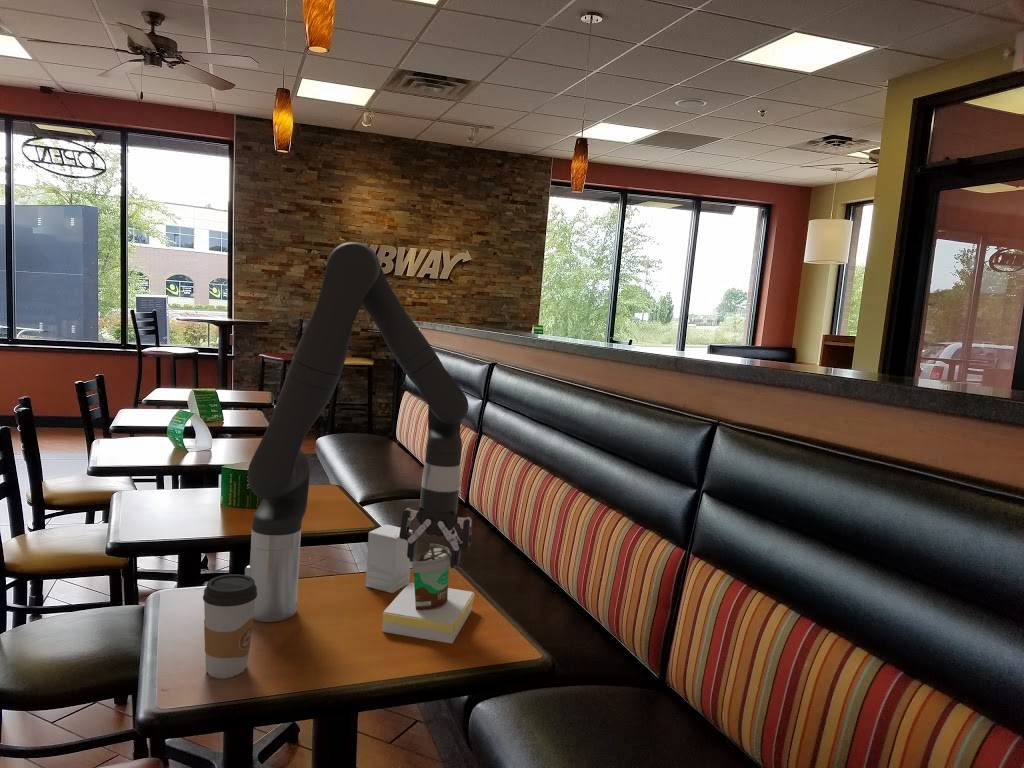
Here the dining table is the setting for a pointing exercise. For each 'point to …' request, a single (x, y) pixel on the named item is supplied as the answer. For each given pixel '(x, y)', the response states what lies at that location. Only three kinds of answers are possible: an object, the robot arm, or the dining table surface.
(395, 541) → the supplement box
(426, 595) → the food container
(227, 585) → the coffee cup
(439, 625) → the white flat block
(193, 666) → the dining table surface
